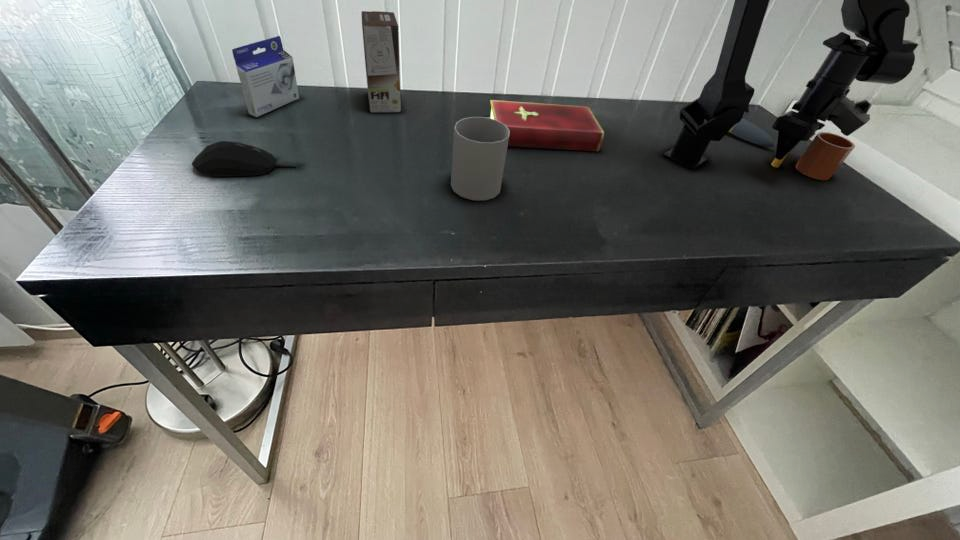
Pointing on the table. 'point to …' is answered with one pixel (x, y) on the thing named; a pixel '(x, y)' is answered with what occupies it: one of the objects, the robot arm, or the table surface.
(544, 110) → the hardcover book
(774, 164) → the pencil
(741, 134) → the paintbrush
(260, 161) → the gaming mouse
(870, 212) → the table surface
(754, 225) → the table surface
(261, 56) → the ink box
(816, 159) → the pen cup
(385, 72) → the coffee box
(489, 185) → the cup
